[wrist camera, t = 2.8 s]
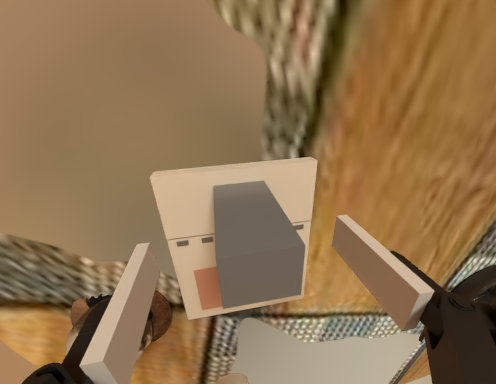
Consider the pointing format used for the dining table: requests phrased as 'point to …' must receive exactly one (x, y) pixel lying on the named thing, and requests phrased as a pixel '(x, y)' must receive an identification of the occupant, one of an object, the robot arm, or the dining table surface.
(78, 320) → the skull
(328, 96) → the dining table surface
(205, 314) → the white flat piece
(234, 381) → the foam cup
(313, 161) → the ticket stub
